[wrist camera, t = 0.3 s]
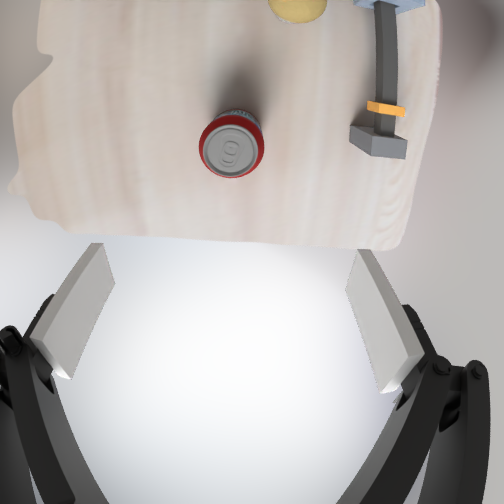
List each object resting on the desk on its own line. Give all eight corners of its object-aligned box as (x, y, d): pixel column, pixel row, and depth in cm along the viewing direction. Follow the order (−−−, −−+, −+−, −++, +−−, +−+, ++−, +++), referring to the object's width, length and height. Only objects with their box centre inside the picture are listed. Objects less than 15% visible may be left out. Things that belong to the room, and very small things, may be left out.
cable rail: (333, -50, 18) (350, -72, 11) (384, -38, 18) (408, -54, 11) (339, 141, 36) (359, 155, 29) (388, 145, 36) (415, 161, 29)
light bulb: (277, -13, 23) (286, -40, 15) (320, 7, 25) (342, -14, 16) (256, 21, 26) (259, 0, 18) (300, 40, 28) (318, 26, 20)
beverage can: (267, 116, 34) (274, 129, 24) (252, 160, 38) (253, 191, 28) (218, 102, 33) (205, 110, 23) (205, 147, 37) (188, 174, 27)
